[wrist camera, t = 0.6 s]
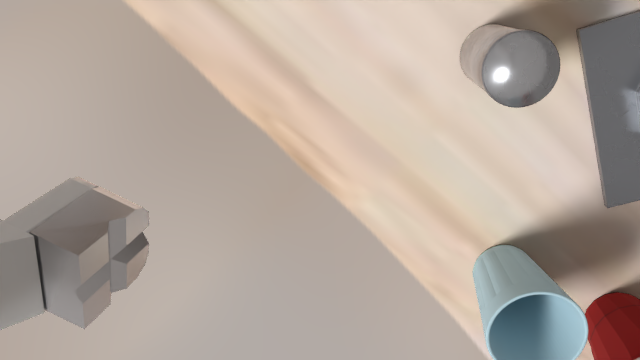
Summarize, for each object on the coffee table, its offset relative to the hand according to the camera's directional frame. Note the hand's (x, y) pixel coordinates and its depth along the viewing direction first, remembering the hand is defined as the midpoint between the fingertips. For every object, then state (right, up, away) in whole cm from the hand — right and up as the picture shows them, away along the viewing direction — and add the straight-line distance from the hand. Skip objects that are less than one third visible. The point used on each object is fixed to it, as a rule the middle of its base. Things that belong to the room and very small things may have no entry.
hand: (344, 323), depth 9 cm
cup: (+17, -6, +43) cm, 46 cm away
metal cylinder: (+14, +13, +36) cm, 41 cm away
